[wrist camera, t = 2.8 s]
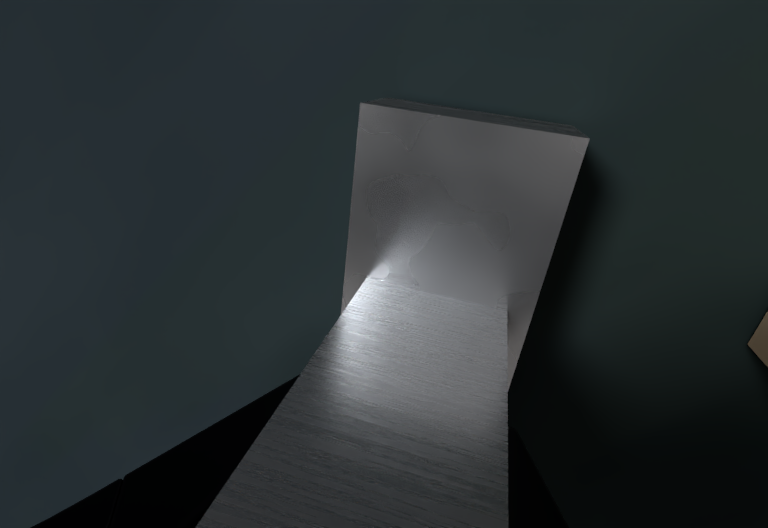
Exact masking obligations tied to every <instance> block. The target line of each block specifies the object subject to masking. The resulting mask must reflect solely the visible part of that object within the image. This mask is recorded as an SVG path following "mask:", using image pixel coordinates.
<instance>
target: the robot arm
mask: <svg viewBox="0 0 768 528" xmlns="http://www.w3.org/2000/svg"><path fill="white" fill-rule="evenodd" d="M299 376H300V375H298V376H296V377H295V378H293V379H291V380H289V381H288V382H286V383H284V384H282V385H281V386H279V387H277V388H276V389H274V390H272V391H270V392H269V393H267V394H265V395H263V396H262V397H260V398H258V399H257V400H255V401H253V402H251V403H250V404H248V405H246V406H244V407H243V408H241V409H239V410H238V411H236V412H234V413H232V414H231V415H229V416H227V417H225V418H224V419H222V420H220V421H218V422H217V423H215V424H213V425H212V426H210V427H208V428H206V429H205V430H203V431H201V432H199V433H198V434H196V435H194V436H193V437H191V438H189V439H187V440H186V441H184V442H182V443H180V444H179V445H177V446H175V447H174V448H172V449H170V450H168V451H167V452H165V453H163V454H161V455H160V456H158V457H156V458H155V459H153V460H151V461H149V462H148V463H146V464H144V465H142V466H141V467H139V468H137V469H136V470H134V471H132V472H130V473H129V474H127V475H126V476H125V477H124V479H123V480H122V479H118V480H116V481H114V482H113V483H111V484H109V485H107V486H106V487H104V488H102V489H101V490H99V491H97V492H95V493H94V494H92V495H90V496H88V497H86V498H85V499H83V500H81V501H79V502H77V503H76V504H74V505H72V506H70V507H68V508H67V509H65V510H63V511H61V512H59V513H58V514H56V515H54V516H52V517H50V518H48V519H46V520H45V521H43V522H41V523H39V524H37V525H35V526H33V527H31V528H195V527H196V526H197V524H198V523H199V522H200V520H201V519H202V517H203V516H204V514H205V513H206V511H207V510H208V508H209V507H210V505H211V504H212V503H213V501H214V500H215V498H216V497H217V495H218V494H219V492H220V491H221V489H222V488H223V487H224V485H225V484H226V482H227V481H228V479H229V478H230V476H231V475H232V473H233V472H234V470H235V469H236V468H237V466H238V465H239V463H240V462H241V460H242V459H243V457H244V456H245V454H246V453H247V451H248V450H249V449H250V447H251V446H252V444H253V443H254V441H255V440H256V438H257V437H258V435H259V434H260V433H261V431H262V430H263V428H264V427H265V425H266V424H267V422H268V421H269V419H270V418H271V416H272V415H273V414H274V412H275V411H276V409H277V408H278V406H279V405H280V403H281V402H282V400H283V399H284V398H285V396H286V395H287V393H288V392H289V390H290V389H291V387H292V386H293V384H294V383H295V381H296V380H297V379H298V377H299ZM508 528H569V527H568V525H567V523H566V521H565V520H564V518H563V516H562V514H561V512H560V510H559V508H558V507H557V505H556V503H555V501H554V499H553V497H552V495H551V494H550V492H549V490H548V488H547V486H546V484H545V482H544V480H543V479H542V477H541V475H540V473H539V471H538V469H537V467H536V466H535V464H534V462H533V460H532V458H531V456H530V454H529V453H528V451H527V449H526V447H525V445H524V443H523V441H522V440H521V438H520V436H519V434H518V432H517V431H516V430H515V429H514V428H511V427H508Z"/></svg>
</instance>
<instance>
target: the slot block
mask: <svg viewBox="0 0 768 528" xmlns="http://www.w3.org/2000/svg"><path fill="white" fill-rule="evenodd" d="M747 345H748V346H749V347H750V348H751V349H752V350H753V351H754V352H755V354H756V355H757V356H758V357H759V358H760V359H761V360H762V361H763V362H764V364H765V365H766V366H767V367H768V311H767V313H766V315H765V316H764V318H763V320H762V321H761V323H760V325H759V326H758V328H757V329H756V331H755V333H754V334H753V336H752V338H751V339H750V341H749V343H748V344H747Z"/></svg>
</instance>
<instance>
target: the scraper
mask: <svg viewBox="0 0 768 528" xmlns="http://www.w3.org/2000/svg"><path fill="white" fill-rule="evenodd" d="M588 142H589V138H588V137H587V136H586V135H584V134H583V133H582V132H580V131H579V130H578V129H576V128H575V127H574V126H571V125H565V124H558V123H551V122H545V121H538V120H532V119H525V118H518V117H512V116H505V115H499V114H492V113H486V112H479V111H472V110H466V109H459V108H453V107H446V106H439V105H433V104H426V103H420V102H413V101H407V100H400V99H393V98H383V99H377V100H372V101H367V102H362V103H360V112H359V123H358V134H357V145H356V156H355V167H354V178H353V189H352V200H351V211H350V222H349V233H348V244H347V255H346V266H345V277H344V288H343V299H342V310H341V316H340V317H339V319H338V320H337V322H336V323H335V325H334V326H333V327H332V329H331V330H330V332H329V333H328V335H327V336H326V338H325V339H324V341H323V342H322V344H321V345H320V346H319V348H318V349H317V351H316V352H315V354H314V355H313V357H312V358H311V360H310V361H309V362H308V364H307V365H306V367H305V368H304V370H303V371H302V373H301V374H300V376H299V377H298V379H297V380H296V381H295V383H294V384H293V386H292V387H291V389H290V390H289V392H288V393H287V395H286V396H285V398H284V399H283V400H282V402H281V403H280V405H279V406H278V408H277V409H276V411H275V412H274V414H273V415H272V416H271V418H270V419H269V421H268V422H267V424H266V425H265V427H264V428H263V430H262V431H261V433H260V434H259V435H258V437H257V438H256V440H255V441H254V443H253V444H252V446H251V447H250V449H249V450H248V451H247V453H246V454H245V456H244V457H243V459H242V460H241V462H240V463H239V465H238V466H237V468H236V469H235V470H234V472H233V473H232V475H231V476H230V478H229V479H228V481H227V482H226V484H225V485H224V487H223V488H222V489H221V491H220V492H219V494H218V495H217V497H216V498H215V500H214V501H213V503H212V504H211V505H210V507H209V508H208V510H207V511H206V513H205V514H204V516H203V517H202V519H201V520H200V522H199V523H198V524H197V526H196V527H195V528H508V390H509V387H510V383H511V380H512V377H513V374H514V371H515V368H516V365H517V362H518V359H519V356H520V353H521V349H522V346H523V343H524V340H525V337H526V334H527V331H528V328H529V325H530V322H531V318H532V315H533V312H534V309H535V306H536V303H537V300H538V297H539V294H540V291H541V288H542V284H543V281H544V278H545V275H546V272H547V269H548V266H549V263H550V260H551V257H552V254H553V250H554V247H555V244H556V241H557V238H558V235H559V232H560V229H561V226H562V223H563V219H564V216H565V213H566V210H567V207H568V204H569V201H570V198H571V195H572V192H573V189H574V185H575V182H576V179H577V176H578V173H579V170H580V167H581V164H582V161H583V158H584V155H585V151H586V148H587V145H588Z"/></svg>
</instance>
